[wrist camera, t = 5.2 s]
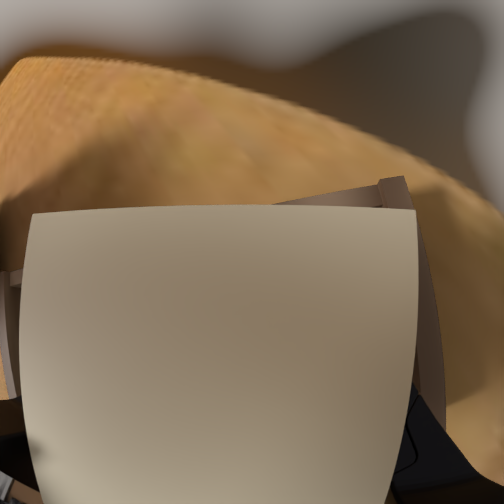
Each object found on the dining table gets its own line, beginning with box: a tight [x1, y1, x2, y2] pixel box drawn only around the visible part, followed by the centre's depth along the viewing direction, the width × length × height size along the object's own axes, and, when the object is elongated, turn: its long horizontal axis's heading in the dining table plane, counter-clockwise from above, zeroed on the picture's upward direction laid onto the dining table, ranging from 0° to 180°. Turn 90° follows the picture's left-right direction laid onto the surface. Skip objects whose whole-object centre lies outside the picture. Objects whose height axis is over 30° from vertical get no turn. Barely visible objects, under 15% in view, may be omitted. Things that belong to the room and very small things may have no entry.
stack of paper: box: [19, 205, 418, 504], centre depth 9 cm, size 5×5×12 cm
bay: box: [0, 176, 446, 431], centre depth 14 cm, size 26×12×3 cm, turn 99°
